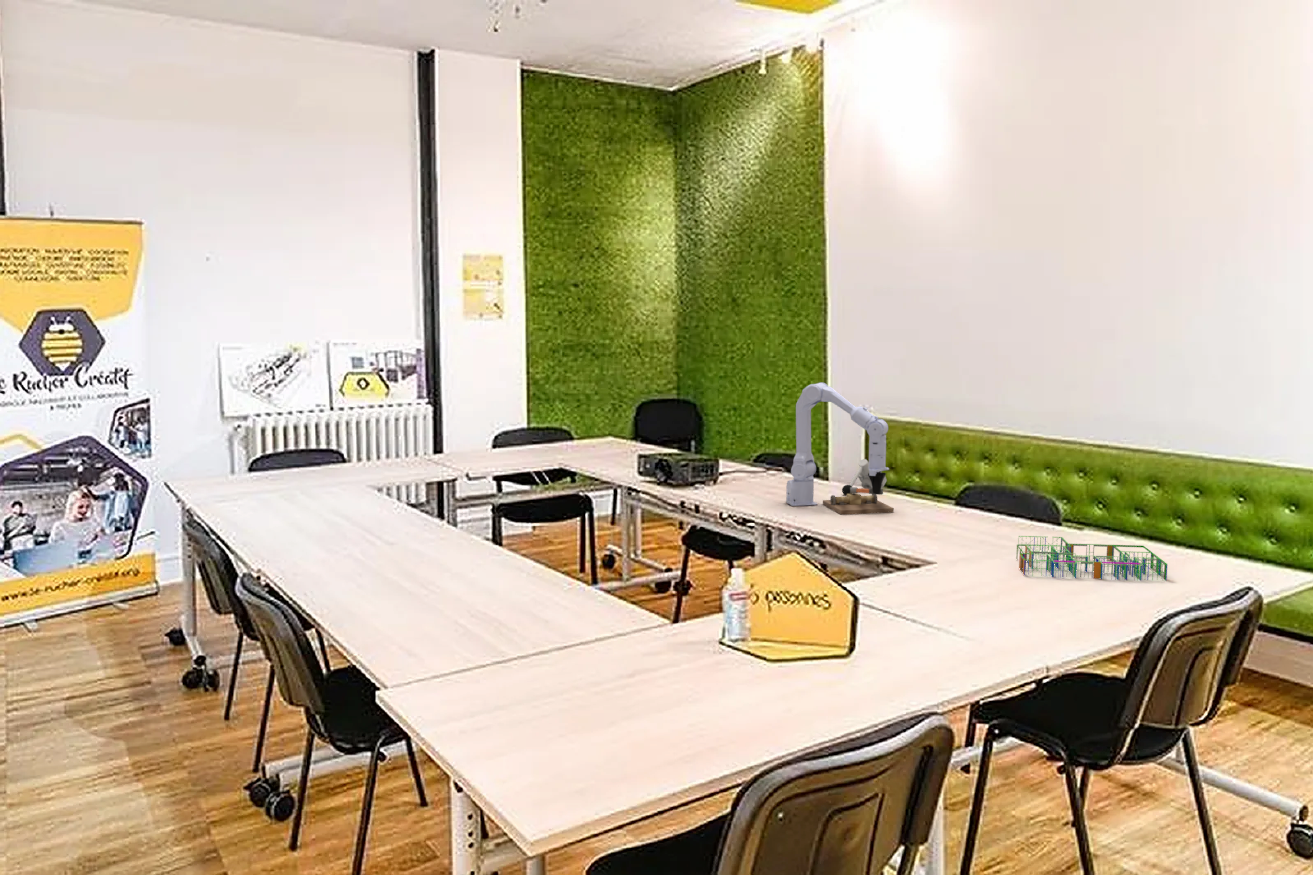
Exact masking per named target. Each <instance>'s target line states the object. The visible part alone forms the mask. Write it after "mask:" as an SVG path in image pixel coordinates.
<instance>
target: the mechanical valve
mask: <svg viewBox="0 0 1313 875" xmlns="http://www.w3.org/2000/svg"><path fill="white" fill-rule="evenodd" d="M858 466H859V467H858V469H857V471H856V472H855V474H854V476H852V479H851V480H850V482H849V484H845V485H843V486H842V489H841V492H842V494H843V495H844V496H846V495H847V494H853V493H850V488H851V487H854V484H855V483H856V481H857V480H858V479H859V481H860V482H861V483H860V484H861V487H862V489H870V488H872V484H871V480H870V478H869V476H868V473H869V470H868V467H869V460H867V458H865V459H861V460H859V462H858ZM881 473H883V471H881ZM887 481H888V480H887V477H886V476H885V477H884V479H883V482H882V486H881V489H883V488H884V486H885V485H886V483H887Z"/></svg>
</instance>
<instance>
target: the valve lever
mask: <svg viewBox="0 0 1313 875" xmlns="http://www.w3.org/2000/svg"><path fill="white" fill-rule="evenodd" d="M850 493H852V494H853V493H858V494H859V493H860V494H869V495H872V494H873V490H872V488H870V489H864V488H863V487H862V488H860V487H858V486H855V487H854V486H852V487H851V488H850ZM883 494H884V489H883V488H882V489H881V491H880V494H877V496H878V495H883Z"/></svg>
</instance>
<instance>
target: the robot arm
mask: <svg viewBox="0 0 1313 875" xmlns="http://www.w3.org/2000/svg"><path fill="white" fill-rule="evenodd" d="M796 401H797V402H796V404H795V428H796V429H795V439H796V442H795V444H796V453H795V455H794V457H793V463H792V466H791V469H790V473H791V475H792V477H793V479H789V480H787V481H786V486H785V487H786V490H785V491H786V494H785V495H786V496H785V497H786V500H785V503H787V504H788V505H790V506H791V507H797V506H817V505H818V503H817V502H815V501H814V492H815V491H814V484H815V483H814V479H815V478H814V474H816V471H817V465H816V463H815V461H814V458H815V457H814V455H813V452H812V411H811V410H812V409H813V408H814V407H815V406H816V405H817V404H818V403H820V402H823V403H824V402H825V403H827V402H829V403H832V404H834V405H835V406H837V407H839V408H840V409H842V410H843V411H844V412H845V413H847V414H849V416H850V420H852V421H853V422H854V423H855V424H857V425H858V426H860V427H861V428H862V429H863V430H865V431H866V432H867V434H868V436H869V441H868V442H869V443H868V462H869V467H868V470H869V473H868V476H869V478H870V480H871V484H872V490H873V494H876V495H878V494H880V491H881V486H882V482H883V479H884V477H886V475H887V473H886V472H884V471H890V468H889V467H887V466H886V460H887V433H888V431H889V425H888V423H887V422H886V420H885V419H882V418H879V416H878V415H874V414H873V413H871V412H870V411H869V410H868V408H867V407H866V406H864V407H863V406H855V405H854V404H853V403H851V402H850V401H849V399H847V398H845V397H844V396H843V395H842V394H841V393H839V392H838V390H837V391H836V390H835V389H834V388H833V387H832V386H830V385H828V384H827V383H825V382H817V383H811V384H809V385H807V386H805V387H804V388H803V389H802V392H801V394H800V396H799V398H798V399H797V400H796ZM881 472H882V473H881Z"/></svg>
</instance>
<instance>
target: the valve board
mask: <svg viewBox="0 0 1313 875" xmlns="http://www.w3.org/2000/svg"><path fill="white" fill-rule="evenodd" d="M822 505H823V506H825V507H827V508H828V509H830V510H832V511H834V512H835V513H837V514H839V515H841V516H842V515H843V516H847V515H865V514H866V515H867V514H869V515H870V514H887V513H892V514H893V513H895V512H894V511H895V510H894V507H893V506H890V505H888V504H886V503H884V502H882V501H880V500H878V494H869V495H861V493H860V494H859V492H858V493H852V494H847V496H846V495H844V496H836V495H834V494H832V495H831V496H830V499H822Z"/></svg>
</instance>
